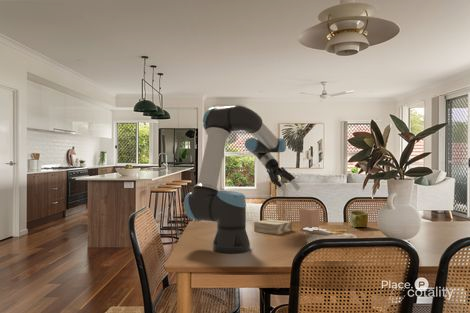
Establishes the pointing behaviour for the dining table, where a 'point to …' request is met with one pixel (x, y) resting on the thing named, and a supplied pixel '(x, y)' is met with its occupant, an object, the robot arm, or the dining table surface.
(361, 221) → the mug
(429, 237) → the dining table surface
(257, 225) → the ash block
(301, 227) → the terracotta block
